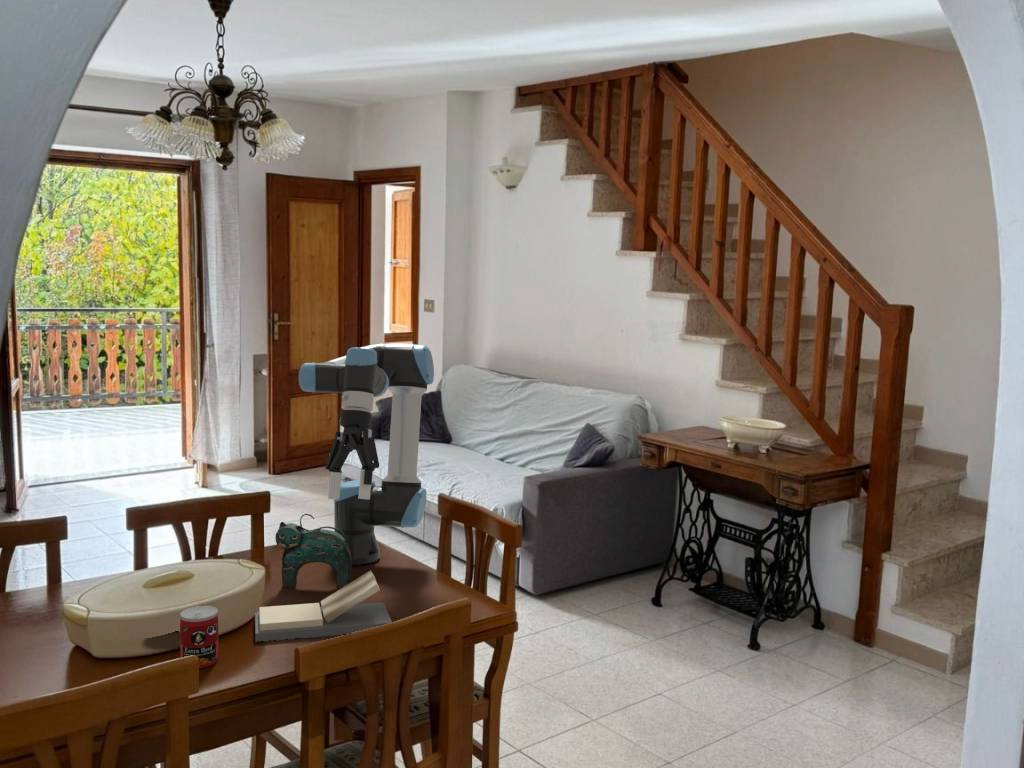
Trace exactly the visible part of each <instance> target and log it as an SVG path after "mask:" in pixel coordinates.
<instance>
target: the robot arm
mask: <svg viewBox="0 0 1024 768" xmlns="http://www.w3.org/2000/svg"><path fill="white" fill-rule="evenodd" d="M434 378H435V365H434V359H433V355H432V351H431V349H430V348H429V347H428V346H426V345H423V344H416V343H385V342H384V343H379V342H378V343H372V344H367V345H364V346H361V347H350V348H348V349H347V351H346V354H345V355H344V356H340V357H337V358H334V359H330V360H328V361H324V362H305V363H303V364H301V366H300V369H299V371H298V384H299V387H300V390H302V391H303V392H306V393H307V392H308V393H314V394H315V393H329V394H330V393H333V394H342V395H341V409H342V410H341V411H340V415H339V426H340V427H343V431H336V432H335V435H334V441H333V444H332V446H331V449H330V453H329V455H328V459H327V461H326V465H325V470H328V471H329V473H330V474H329V485H328V493H327V494H328V495H327V499H329V500H333V502H334V509H333V510H334V520H333V521H334V528H337V529H340V530H341V531H342V532H343V533H344V534H345V536H346V539H347V544H348V546H349V549H350V553H351V559H352V565H358V566H362V565H361V564H366V565H368V564H367V563H370V564H372V563H371V562H374V563H376V562H378V561H379V560H380V559H379V558H381V550H380V547H379V543H378V540H377V538H376V534H375V526H376V527H390V528H392V527H393V528H401V529H403V528H416V527H418V525H420V523H421V522H422V519H423V516H424V513H425V511H426V505H427V500H428V499H427V493H428V492H427V490H426V488H424V487H422V481H421V480H420V479H419V477H418V475H417V474H418V459H419V457H418V456H419V442H420V428H421V426H420V425H421V413H422V412H421V411H422V409H421V407H422V397H423V395H424V394H425V393H426V392H427V391H428V385H429V386H430V385H431V384H433V383H434V380H435V379H434ZM387 390H389V392H391V394H392V399H391V402H392V403H391V417H390V430H389V433H390V434H389V447H388V460H387V461H388V463H387V474H386V476H385V477H383V478H382V480H381V485H376V482H375V480H374V479H373V472H374V471H375V469H379V468H380V462H379V457H378V452H377V451H378V450H377V446H376V440H375V430H374V429H370V428H371V427H372V418H373V414H372V413H371V412H372V411H373V408H374V398H378V397H380V396H383V395H384V394H385V393H386V392H387ZM353 451H356V454H357V456H358V459H359V461H360V462H359V463H360V464H361V468H360V475H359V479H354V480H349V481H345V482H342V476H343V475H342V474H343V471H342V469H343V468H342V467H343V466H344V464H345V462H346V460H347V458H348V457H349V455H350V453H352V452H353ZM334 531H335V532H337V533H338V534H340V535H341V536H342V537H343V538H344V539H345V537H344V535H343V534H342V533H341V532H339V531H338V530H335V529H334ZM346 539H345V540H346ZM378 559H379V560H378ZM377 560H378V561H377ZM375 561H376V562H375Z"/></svg>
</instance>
